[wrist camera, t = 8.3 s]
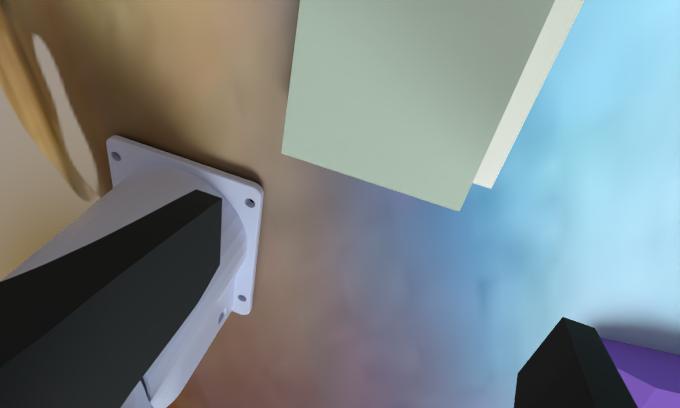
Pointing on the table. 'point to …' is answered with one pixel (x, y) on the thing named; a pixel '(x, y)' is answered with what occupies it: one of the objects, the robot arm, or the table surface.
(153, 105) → the table surface
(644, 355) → the bracket
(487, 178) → the stub plate
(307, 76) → the housing
